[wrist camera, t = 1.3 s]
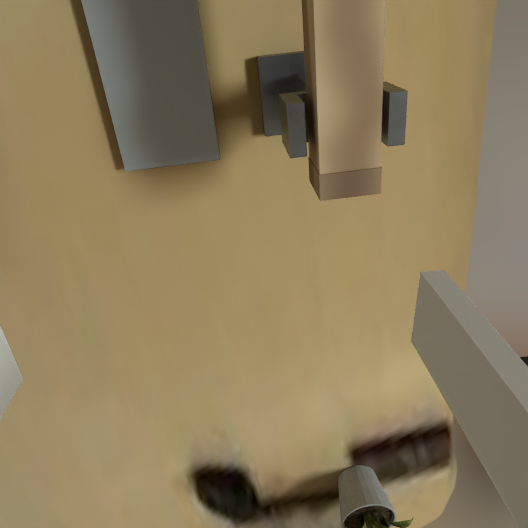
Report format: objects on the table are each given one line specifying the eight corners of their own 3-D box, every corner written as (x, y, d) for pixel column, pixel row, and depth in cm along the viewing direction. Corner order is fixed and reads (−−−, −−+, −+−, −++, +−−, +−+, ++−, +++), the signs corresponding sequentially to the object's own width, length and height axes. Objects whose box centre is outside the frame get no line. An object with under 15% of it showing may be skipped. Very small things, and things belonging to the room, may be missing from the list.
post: (264, 133, 38) (281, 183, 27) (256, 56, 35) (273, 77, 24) (357, 122, 38) (412, 168, 27) (357, 44, 35) (420, 60, 24)
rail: (309, 180, 30) (320, 200, 27) (289, -248, 20) (301, -297, 17) (363, 174, 30) (380, 193, 27) (370, -256, 20) (397, -307, 17)
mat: (44, -157, 28) (39, -163, 27) (171, -170, 28) (170, -176, 28) (127, 167, 39) (125, 171, 38) (220, 156, 39) (220, 159, 38)
